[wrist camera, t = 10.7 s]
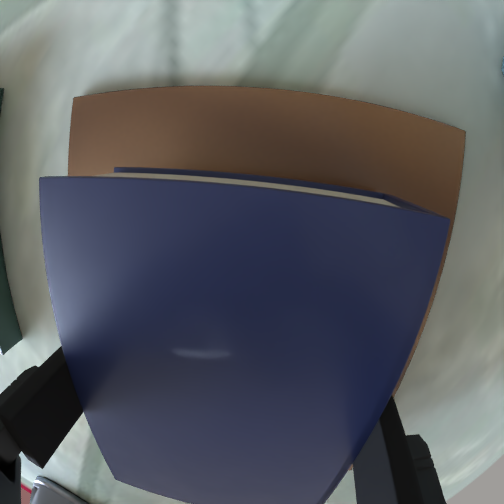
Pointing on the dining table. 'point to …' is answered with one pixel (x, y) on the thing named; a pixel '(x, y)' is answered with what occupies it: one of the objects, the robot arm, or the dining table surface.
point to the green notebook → (6, 303)
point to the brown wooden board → (273, 142)
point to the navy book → (234, 323)
